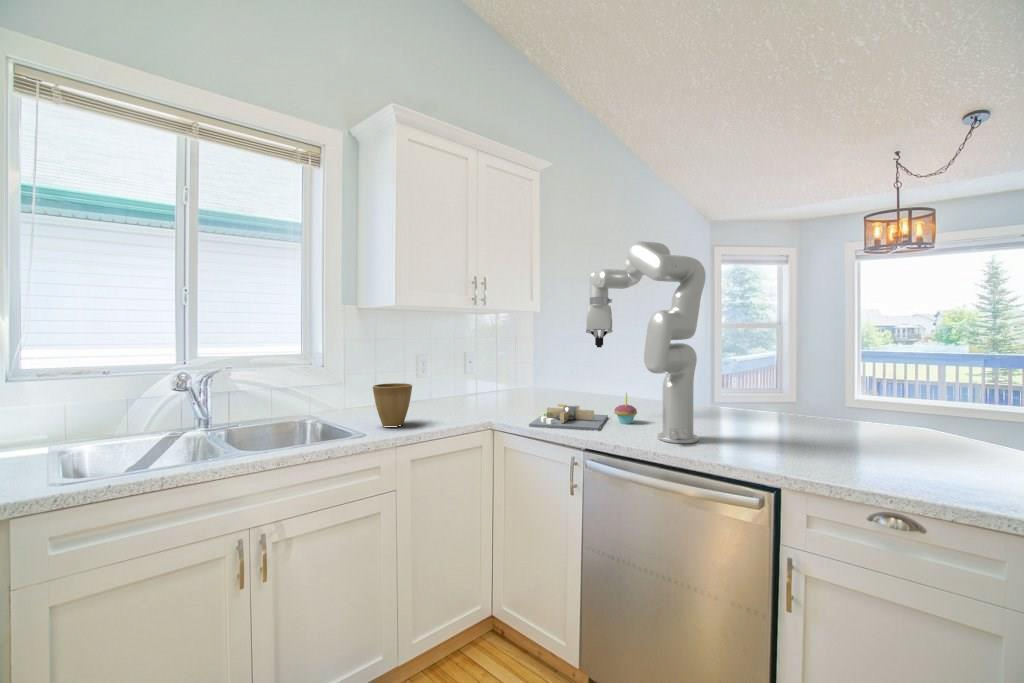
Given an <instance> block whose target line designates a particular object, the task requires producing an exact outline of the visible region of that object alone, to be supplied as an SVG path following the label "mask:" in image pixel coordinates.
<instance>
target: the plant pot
mask: <svg viewBox="0 0 1024 683" xmlns="http://www.w3.org/2000/svg"><path fill="white" fill-rule="evenodd" d="M372 391H373V397H374V398H373V399H374V401H375V402H374V403H375V406H376V411H377V414H378V417H379V420H380V423H381V424H382V427H383V426H399V425H402V424H403V425H404V423H405V420H406V417H407V414H408V410H409V406H410V403H411V397H412V391H413V384H412V383H403V382H402V383H400V382H398V383H396V382H394V383H381V384H380V383H379V384H373V385H372Z"/></svg>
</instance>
